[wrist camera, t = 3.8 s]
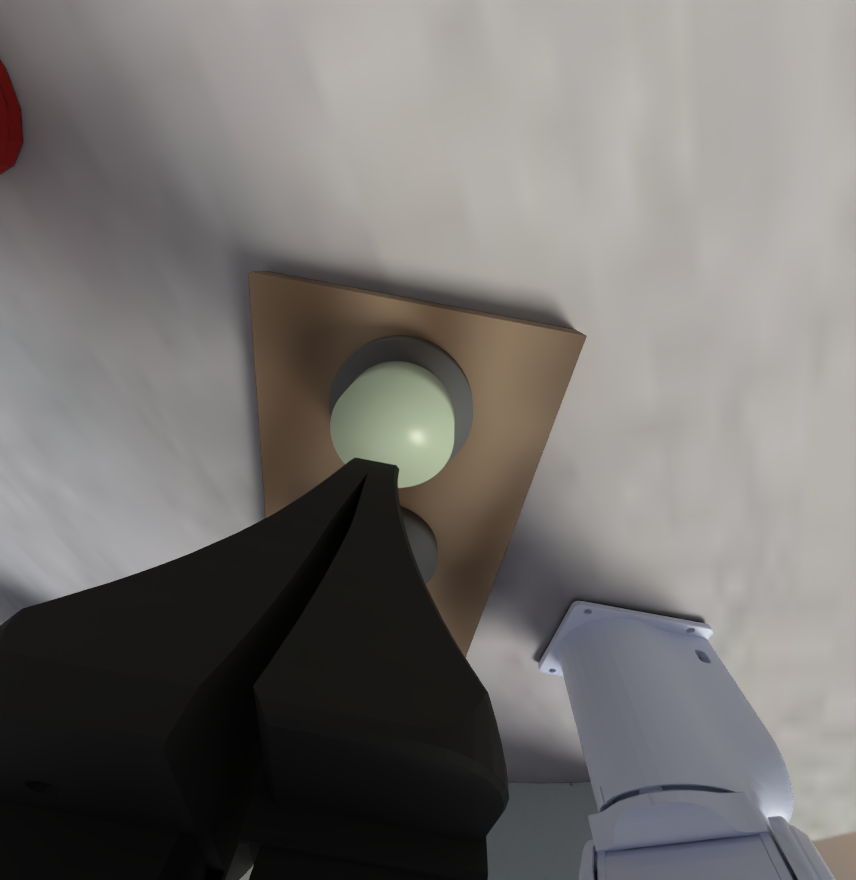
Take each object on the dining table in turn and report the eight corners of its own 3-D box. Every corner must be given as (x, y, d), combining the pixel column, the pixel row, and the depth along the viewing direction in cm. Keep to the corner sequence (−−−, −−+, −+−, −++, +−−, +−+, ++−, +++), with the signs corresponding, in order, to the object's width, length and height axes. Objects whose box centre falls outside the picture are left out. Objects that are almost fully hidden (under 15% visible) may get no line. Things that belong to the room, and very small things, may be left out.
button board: (575, 329, 15) (595, 340, 13) (453, 668, 28) (453, 703, 26) (266, 271, 15) (233, 272, 13) (284, 637, 28) (269, 670, 25)
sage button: (465, 373, 14) (466, 389, 12) (443, 471, 16) (441, 497, 14) (348, 351, 14) (332, 363, 12) (342, 452, 16) (328, 476, 14)
